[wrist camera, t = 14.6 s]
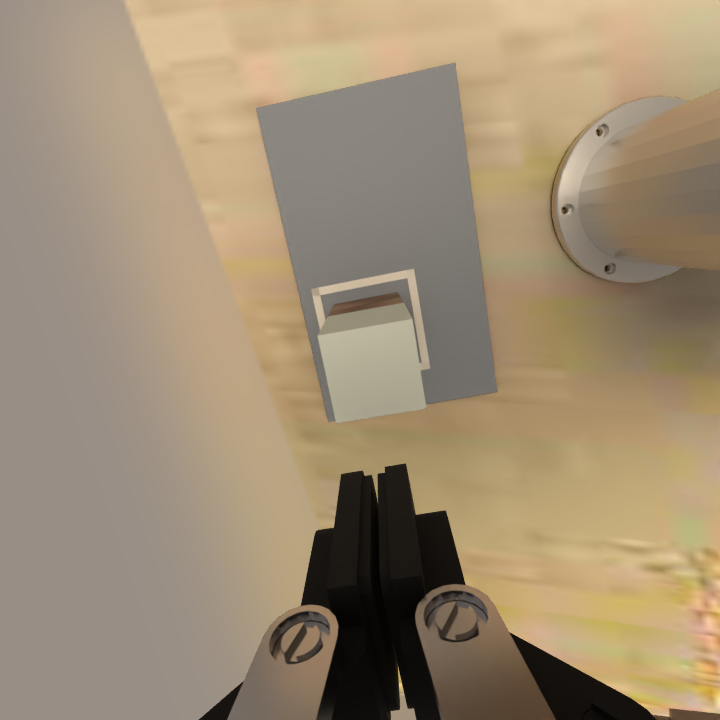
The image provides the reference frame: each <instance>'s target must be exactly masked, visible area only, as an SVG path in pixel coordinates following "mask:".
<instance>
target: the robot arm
mask: <svg viewBox="0 0 720 720" xmlns="http://www.w3.org/2000/svg"><path fill="white" fill-rule="evenodd" d="M596 130H598V131H599V133H600V134H599V136H597V134H596ZM562 207H564V208H565V209H566V212H565V213H564V214H562V212H561V211H562ZM552 219H553V223H554V227H555V231H556V234H557V236H558V239H559V241H560V243H561V245H562V247H563V249H564V250H565V251H566V253H567V254H568V255H569V257H570V258H571V259H572V260H573V261H574V262H575V263H576V264H577V265H579V266H580V267H581V268H582V269H583V270H585V271H587V272H589V273H591V274H593V275H594V276H596V277H600V278H603V279H606V280H609V281H615V282H621V283H642V282H648V281H653V280H657V279H660V278H663V277H665V276H668V275H671V274H673V273H675V272H676V271H678V270H680V269H682V268H683V267H688V268H698V269H708V270H719V271H720V88H719V89H717V90H715V91H712V92H710V93H708V94H705V95H703V96H701V97H698V98H696V99H694V100H691V101H687V100H684V99H680V98H677V97H667V96H654V97H645V98H640V99H637V100H633V101H630V102H627V103H624V104H622V105H620V106H618V107H616V108H614V109H612V110H610V111H608V112H607V113H605V114H604V115H602V116H601V117H599V118H598V119H596V120H595V121H593V122H592V123H591V124H590V125H589V126H588V127H587V128H586V129H585V130H584V131H583V132H582V133H580V134H579V136H578V137H577V138H576V140H575V141H574V142H573V144H572V145H571V146H570V148H569V149H568V151H567V153H566V154H565V156H564V158H563V160H562V162H561V164H560V166H559V169H558V172H557V175H556V178H555V181H554V186H553V193H552ZM606 265H607V269H606V271H604V268H605V266H606ZM397 662H398V663H397ZM398 667H399V671H400V676H401V680H402V685H403V690H404V694H405V698H406V703H407V707H408V708H409V709H411V708H414V710H415V715H416V719H417V720H720V714H717V713H707V712H698V711H689V710H679V709H670V708H669V716H670V717H666V716H657V715H652V714H651V713H650V712H649V711H648V710H647V709H645V708H644V707H643V706H641V705H640V704H638V703H637V702H635V701H634V700H632V699H631V698H629V697H627V696H626V695H624V694H622V693H620V692H618V691H616V690H615V689H613V688H611V687H609V686H607V685H605V684H603V683H602V682H600V681H598V680H596V679H594V678H592V677H591V676H589V675H587V674H585V673H583V672H581V671H580V670H578V669H576V668H574V667H572V666H570V665H569V664H567V663H565V662H563V661H561V660H559V659H558V658H556V657H554V656H552V655H550V654H548V653H547V652H545V651H543V650H541V649H539V648H537V647H536V646H534V645H532V644H530V643H528V642H526V641H525V640H523V639H521V638H519V637H517V636H515V635H513V634H512V633H510V632H509V631H508V629H507V627H506V625H505V624H504V622H503V620H502V618H501V616H500V614H499V612H498V610H497V609H496V607H495V605H494V603H493V602H492V601H491V600H490V598H489V597H488V596H487V595H486V594H484V593H483V592H481V591H480V590H479V589H476V588H473V587H470V586H468V585H465V581H464V577H463V573H462V570H461V566H460V562H459V558H458V555H457V551H456V547H455V543H454V539H453V536H452V532H451V528H450V524H449V520H448V517H447V513H446V511H439V512H432V513H426V514H419V515H416V514H415V509H414V503H413V498H412V493H411V488H410V482H409V477H408V472H407V467H406V464H400V465H394V466H388V467H385V473H380V474H378V501H377V497H376V492H375V487H374V482H373V478H372V475H368V476H364V473H363V471H357V472H351V473H345V474H341V480H340V487H339V495H338V502H337V510H336V517H335V525H334V528H329V529H323V530H317V531H316V533H315V536H314V541H313V546H312V551H311V556H310V562H309V567H308V572H307V577H306V582H305V587H304V593H303V598H302V603H301V606H299V607H297V608H294V609H291V610H289V611H287V612H286V613H284V614H282V615H281V616H279V617H278V618H277V619H276V620H275V621H274V622H273V623H272V624H271V625H270V626H269V628H268V629H267V631H266V633H265V634H264V636H263V638H262V641H261V643H260V645H259V647H258V650H257V652H256V654H255V656H254V659H253V661H252V664H251V666H250V668H249V670H248V673H247V675H246V677H245V679H244V681H243V682H242V683H241V684H240V685H238V686H237V687H236V688H235V689H234V690H233V691H231V692H230V693H229V694H228V695H227V696H226V697H225V698H223V699H222V700H221V701H220V702H219V703H218V704H216V706H214V707H213V708H212V709H211V710H210V711H209V712H207V713H206V714H205V715H204V716H203V717H202V718H200V719H199V720H391V713H390V711H394V710H399V709H400V698H399V681H398Z"/></svg>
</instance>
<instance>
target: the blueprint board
mask: <svg viewBox="0 0 720 720" xmlns="http://www.w3.org/2000/svg"><path fill="white" fill-rule="evenodd" d="M256 110H257V114H258V119H259V123H260V127H261V132H262V136H263V140H264V145H265V149H266V153H267V158H268V162H269V166H270V171H271V175H272V179H273V184H274V188H275V192H276V197H277V201H278V205H279V210H280V214H281V218H282V223H283V227H284V231H285V236H286V240H287V244H288V249H289V253H290V257H291V262H292V266H293V270H294V275H295V279H296V283H297V288H298V292H299V296H300V301H301V305H302V309H303V314H304V318H305V322H306V327H307V331H308V335H309V340H310V344H311V348H312V353H313V357H314V361H315V366H316V370H317V374H318V379H319V383H320V387H321V392H322V396H323V400H324V405H325V409H326V413H327V418H328V422H331V421H336V420H335V416H334V411H333V406H332V402H331V397H330V392H329V388H328V383H327V378H326V374H325V369H324V364H323V360H322V355H321V350H320V345H319V341H318V334H319V332H320V330H321V328H322V326H323V324H324V322H325V321H326V319H327V317H328V315H329V313H330V311H331V309H332V307H333V305H334V304H338V303H344V302H349V301H354V300H359V299H364V298H369V297H374V296H379V295H385V294H390V293H395V292H398V294H399V295H400V297H401V299H402V301H403V303H404V304H405V306H406V308H407V309H408V311H409V313H410V315H411V317H412V320H413V326H414V332H415V339H416V345H417V351H418V358H419V364H420V370H421V377H422V383H423V389H424V396H425V402H426V405H427V404H433V403H438V402H444V401H450V400H455V399H461V398H467V397H472V396H478V395H484V394H489V393H495V392H497V387H496V379H495V371H494V363H493V355H492V348H491V340H490V332H489V324H488V316H487V308H486V300H485V293H484V285H483V277H482V269H481V261H480V253H479V245H478V237H477V230H476V222H475V214H474V206H473V198H472V190H471V182H470V175H469V167H468V159H467V151H466V143H465V135H464V127H463V120H462V112H461V104H460V96H459V88H458V80H457V72H456V64H455V63H452V64H448V65H443V66H439V67H434V68H430V69H426V70H421V71H417V72H413V73H408V74H404V75H399V76H395V77H391V78H386V79H382V80H378V81H373V82H369V83H364V84H360V85H356V86H351V87H347V88H343V89H338V90H334V91H329V92H325V93H321V94H316V95H312V96H308V97H303V98H299V99H294V100H290V101H286V102H281V103H277V104H273V105H268V106H264V107H259V108H256Z"/></svg>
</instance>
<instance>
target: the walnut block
mask: <svg viewBox="0 0 720 720" xmlns="http://www.w3.org/2000/svg"><path fill="white" fill-rule="evenodd" d="M399 303H403V301H402V299H401V297H400V295H399V294H398V292H395V293H390V294H385V295H379V296H374V297H369V298H364V299H359V300H354V301H349V302H344V303H338V304H334V305H333V307H332V309H331V311H330V313H329V315H328V316H333V315H338V314H344V313H350V312H355V311H361V310H366V309H372V308H377V307H383V306H388V305H394V304H399Z"/></svg>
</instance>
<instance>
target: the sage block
mask: <svg viewBox="0 0 720 720" xmlns="http://www.w3.org/2000/svg"><path fill="white" fill-rule="evenodd" d="M318 341H319V345H320V350H321V355H322V360H323V364H324V369H325V374H326V378H327V383H328V388H329V392H330V397H331V402H332V406H333V411H334V416H335V420H336V423H342V422H348V421H355V420H361V419H367V418H373V417H379V416H385V415H391V414H397V413H403V412H409V411H415V410H421V409H426V402H425V396H424V389H423V383H422V377H421V370H420V364H419V358H418V351H417V345H416V339H415V332H414V326H413V320H412V317H411V315H410V313H409V311H408V309H407V308H406V306H405V304H404V303H399V304H394V305H388V306H383V307H377V308H372V309H366V310H361V311H355V312H350V313H344V314H338V315H333V316H328V317H327V319H326V321H325V322H324V324H323V326H322V328H321V330H320V332H319V334H318Z"/></svg>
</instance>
